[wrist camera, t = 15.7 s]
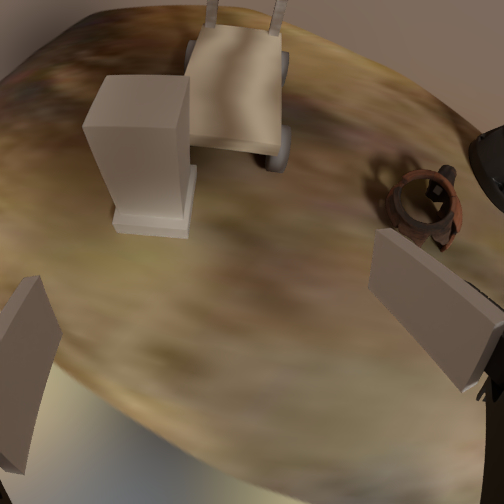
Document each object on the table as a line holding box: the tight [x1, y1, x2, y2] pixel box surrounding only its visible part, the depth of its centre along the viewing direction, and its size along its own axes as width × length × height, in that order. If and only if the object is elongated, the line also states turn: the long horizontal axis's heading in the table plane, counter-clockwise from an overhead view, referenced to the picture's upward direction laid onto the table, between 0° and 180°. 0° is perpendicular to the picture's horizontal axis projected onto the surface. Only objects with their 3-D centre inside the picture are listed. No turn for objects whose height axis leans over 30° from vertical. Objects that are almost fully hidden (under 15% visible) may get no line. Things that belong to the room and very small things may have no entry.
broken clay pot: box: [385, 165, 462, 252], centre depth 33 cm, size 12×10×8 cm
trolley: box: [184, 0, 291, 173], centre depth 27 cm, size 13×20×19 cm, turn 176°
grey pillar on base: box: [82, 75, 197, 239], centre depth 24 cm, size 7×7×14 cm
